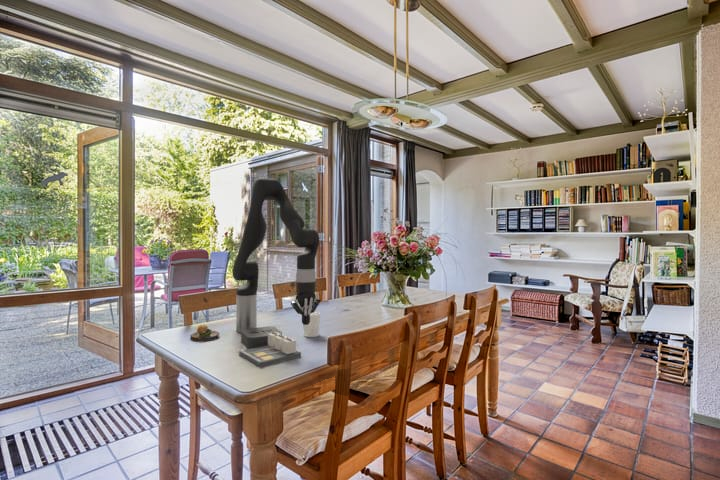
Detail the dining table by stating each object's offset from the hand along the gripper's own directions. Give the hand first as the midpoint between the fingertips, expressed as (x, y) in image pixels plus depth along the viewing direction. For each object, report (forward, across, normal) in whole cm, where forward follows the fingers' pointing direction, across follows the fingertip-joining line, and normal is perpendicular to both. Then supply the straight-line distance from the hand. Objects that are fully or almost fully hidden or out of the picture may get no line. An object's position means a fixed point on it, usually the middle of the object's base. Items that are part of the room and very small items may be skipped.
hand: (305, 324), depth 146 cm
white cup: (+11, -16, -19) cm, 27 cm away
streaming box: (+11, +7, -22) cm, 26 cm away
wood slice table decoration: (+11, +22, -46) cm, 52 cm away
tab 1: (+9, +7, -11) cm, 16 cm away
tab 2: (+9, +7, -6) cm, 13 cm away
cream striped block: (+9, +7, 0) cm, 12 cm away
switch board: (+11, +12, -6) cm, 18 cm away
